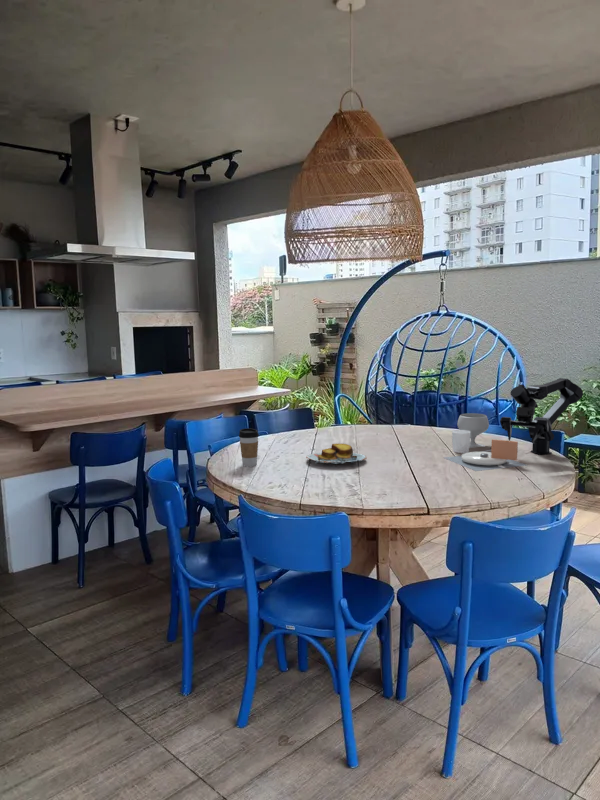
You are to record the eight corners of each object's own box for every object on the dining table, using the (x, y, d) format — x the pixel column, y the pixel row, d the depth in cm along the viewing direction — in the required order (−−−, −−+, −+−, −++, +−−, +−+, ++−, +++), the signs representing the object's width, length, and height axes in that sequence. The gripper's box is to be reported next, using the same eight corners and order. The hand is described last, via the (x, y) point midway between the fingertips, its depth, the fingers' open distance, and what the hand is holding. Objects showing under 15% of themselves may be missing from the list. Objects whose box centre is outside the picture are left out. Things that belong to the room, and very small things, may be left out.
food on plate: (295, 463, 261) (294, 448, 260) (329, 452, 280) (329, 438, 280) (344, 472, 245) (344, 456, 244) (377, 460, 265) (377, 445, 264)
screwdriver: (500, 450, 278) (500, 444, 278) (505, 451, 276) (505, 445, 276) (478, 454, 270) (478, 449, 270) (483, 455, 268) (483, 449, 268)
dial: (489, 453, 264) (490, 433, 263) (518, 463, 246) (519, 441, 245) (453, 457, 258) (453, 436, 257) (480, 467, 240) (480, 445, 239)
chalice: (465, 442, 294) (466, 411, 292) (493, 446, 285) (494, 414, 283) (451, 448, 284) (452, 415, 282) (480, 452, 275) (480, 419, 272)
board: (491, 455, 268) (491, 452, 268) (527, 468, 245) (527, 464, 245) (442, 460, 261) (442, 457, 260) (475, 474, 238) (475, 470, 238)
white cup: (470, 456, 268) (471, 433, 266) (452, 455, 269) (452, 433, 268) (469, 452, 275) (469, 430, 274) (451, 451, 277) (451, 429, 275)
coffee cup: (250, 461, 265) (249, 427, 263) (263, 464, 259) (262, 429, 257) (235, 465, 259) (234, 430, 257) (248, 468, 253) (247, 432, 251)
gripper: (501, 398, 261) (494, 428, 253) (548, 400, 251) (542, 431, 243) (505, 413, 269) (498, 443, 261) (551, 416, 259) (545, 447, 251)
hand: (520, 441), depth 254 cm, fingers open, 9 cm apart
